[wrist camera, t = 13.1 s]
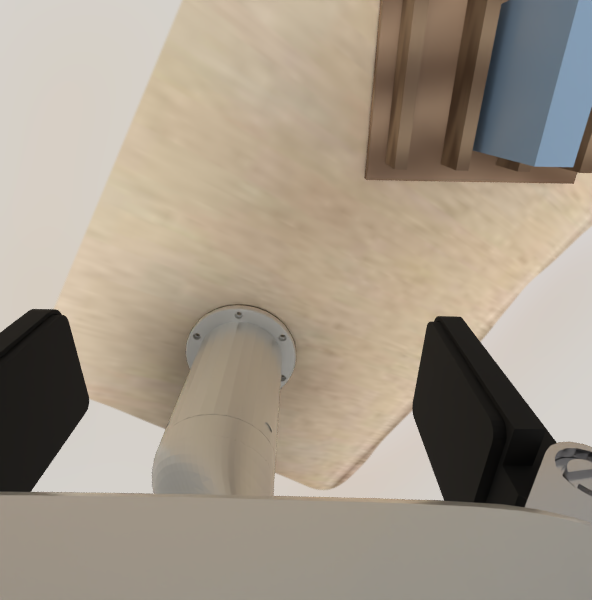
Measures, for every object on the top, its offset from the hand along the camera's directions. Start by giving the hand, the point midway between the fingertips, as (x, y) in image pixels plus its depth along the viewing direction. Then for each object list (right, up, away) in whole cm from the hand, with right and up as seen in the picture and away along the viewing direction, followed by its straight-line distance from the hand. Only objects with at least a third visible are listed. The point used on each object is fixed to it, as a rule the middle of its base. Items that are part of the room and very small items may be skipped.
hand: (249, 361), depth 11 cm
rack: (+17, +20, +24) cm, 36 cm away
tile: (+17, +20, +23) cm, 35 cm away
